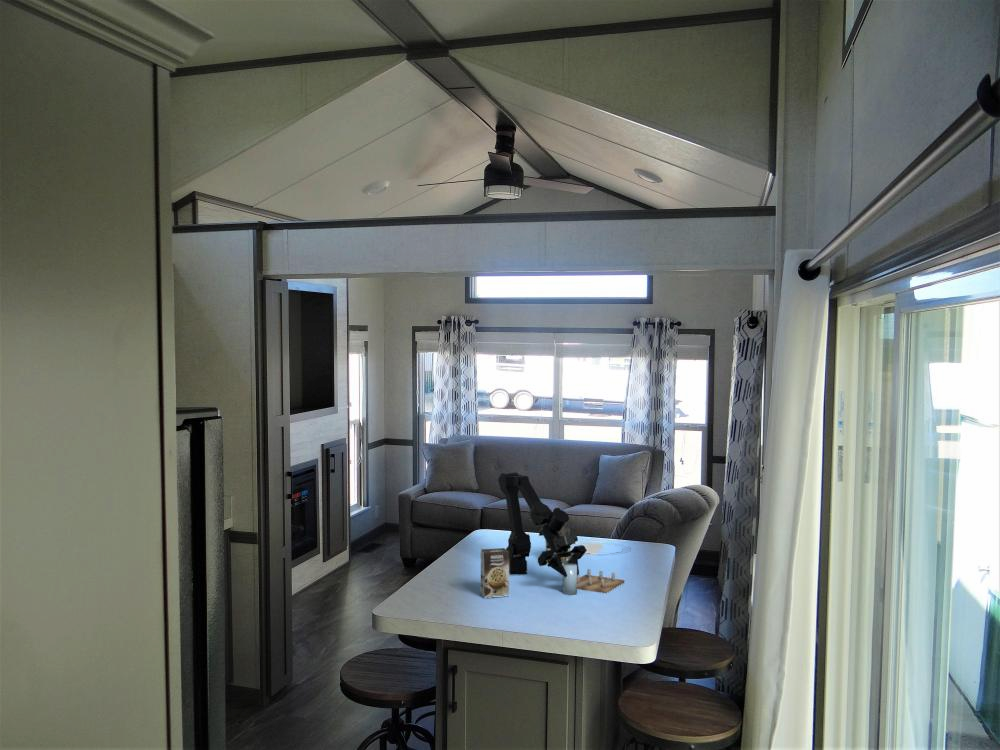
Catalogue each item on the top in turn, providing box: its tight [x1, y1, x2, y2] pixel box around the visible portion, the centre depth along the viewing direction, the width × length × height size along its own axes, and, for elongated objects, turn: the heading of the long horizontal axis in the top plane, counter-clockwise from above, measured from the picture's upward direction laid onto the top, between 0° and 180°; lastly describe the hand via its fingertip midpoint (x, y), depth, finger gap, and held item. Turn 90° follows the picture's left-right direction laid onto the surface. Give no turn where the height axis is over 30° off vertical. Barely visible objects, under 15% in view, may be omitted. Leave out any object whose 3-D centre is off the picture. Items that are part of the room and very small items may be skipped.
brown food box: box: [480, 547, 510, 598], centre depth 282 cm, size 9×6×16 cm
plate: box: [570, 540, 616, 557], centre depth 352 cm, size 28×28×1 cm
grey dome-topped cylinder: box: [562, 563, 578, 596], centre depth 284 cm, size 5×5×10 cm
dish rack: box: [577, 568, 626, 594], centre depth 295 cm, size 16×16×4 cm
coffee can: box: [545, 526, 571, 565], centre depth 328 cm, size 10×10×14 cm
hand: (572, 575), depth 283 cm, fingers closed on grey dome-topped cylinder, 5 cm apart
